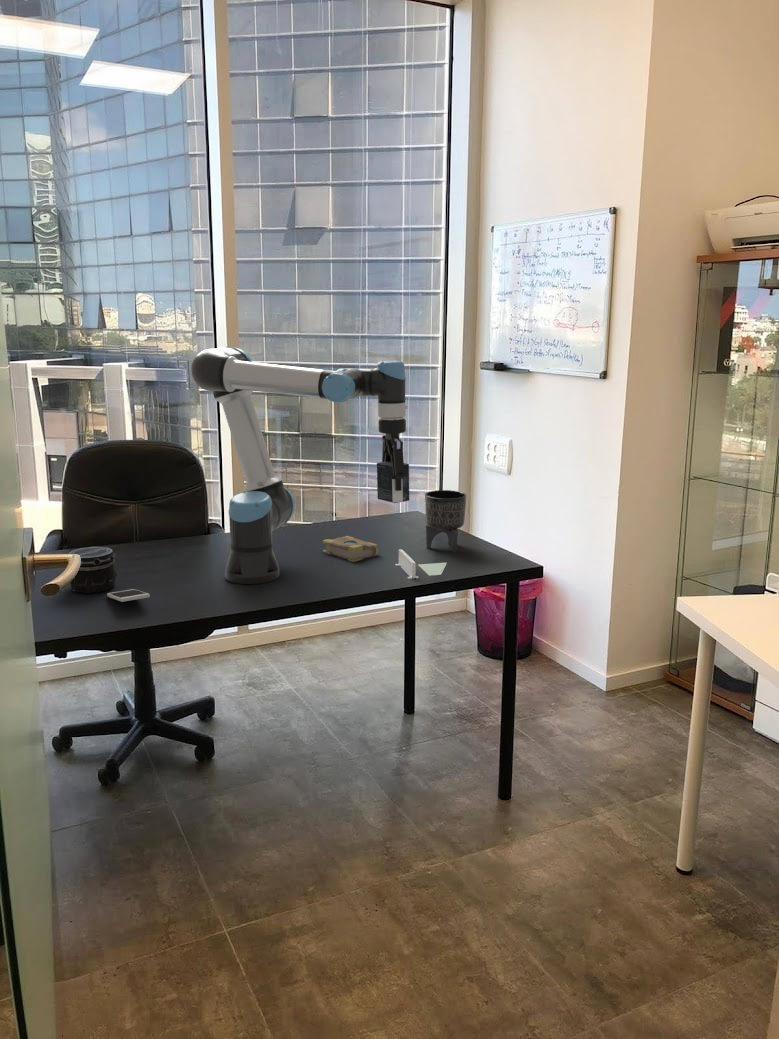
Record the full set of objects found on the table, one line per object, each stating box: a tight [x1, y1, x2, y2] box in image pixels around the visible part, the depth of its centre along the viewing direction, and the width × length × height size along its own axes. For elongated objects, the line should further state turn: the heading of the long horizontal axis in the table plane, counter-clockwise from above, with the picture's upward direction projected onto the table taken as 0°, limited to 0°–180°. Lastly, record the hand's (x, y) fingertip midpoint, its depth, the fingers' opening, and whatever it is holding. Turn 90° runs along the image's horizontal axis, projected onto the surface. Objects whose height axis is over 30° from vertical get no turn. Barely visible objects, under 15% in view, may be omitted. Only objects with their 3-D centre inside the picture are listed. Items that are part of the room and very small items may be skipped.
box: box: [376, 461, 410, 504], centre depth 241 cm, size 8×6×11 cm
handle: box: [394, 549, 420, 580], centre depth 248 cm, size 3×14×5 cm, turn 15°
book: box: [322, 535, 379, 563], centre depth 267 cm, size 15×11×5 cm
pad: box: [418, 562, 447, 577], centre depth 251 cm, size 9×11×1 cm
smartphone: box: [106, 588, 150, 603], centre depth 222 cm, size 7×15×1 cm, turn 32°
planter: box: [424, 489, 467, 553], centre depth 271 cm, size 13×13×18 cm
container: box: [68, 546, 118, 594], centre depth 233 cm, size 13×13×10 cm
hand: (393, 498), depth 242 cm, fingers closed on box, 9 cm apart
